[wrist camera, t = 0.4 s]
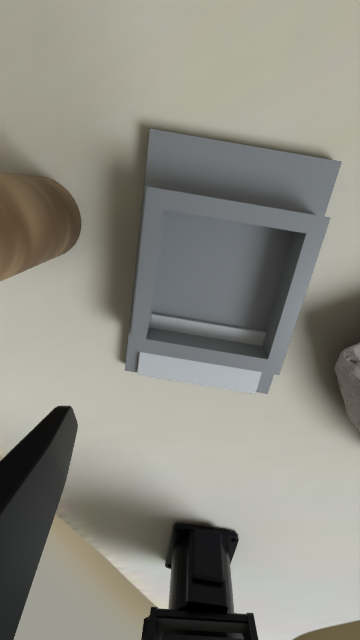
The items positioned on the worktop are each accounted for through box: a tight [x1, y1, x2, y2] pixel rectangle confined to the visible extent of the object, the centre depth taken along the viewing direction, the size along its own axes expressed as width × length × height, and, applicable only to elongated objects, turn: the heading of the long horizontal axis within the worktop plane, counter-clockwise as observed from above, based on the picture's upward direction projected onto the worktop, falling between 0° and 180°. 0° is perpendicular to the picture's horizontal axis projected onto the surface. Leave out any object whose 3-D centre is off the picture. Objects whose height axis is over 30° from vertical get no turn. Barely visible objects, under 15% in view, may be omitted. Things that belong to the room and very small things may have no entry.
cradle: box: [125, 129, 341, 394], centre depth 20 cm, size 16×11×3 cm
